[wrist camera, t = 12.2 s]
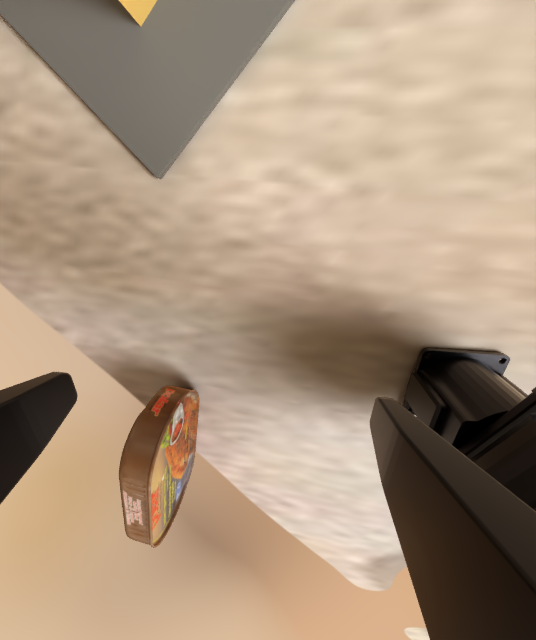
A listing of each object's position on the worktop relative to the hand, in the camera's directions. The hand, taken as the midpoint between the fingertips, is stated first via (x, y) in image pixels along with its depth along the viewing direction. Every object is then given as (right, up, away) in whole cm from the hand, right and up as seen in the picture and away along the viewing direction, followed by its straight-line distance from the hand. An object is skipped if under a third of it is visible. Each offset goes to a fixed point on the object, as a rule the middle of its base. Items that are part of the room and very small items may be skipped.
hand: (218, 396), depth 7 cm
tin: (-7, -9, +19) cm, 22 cm away
